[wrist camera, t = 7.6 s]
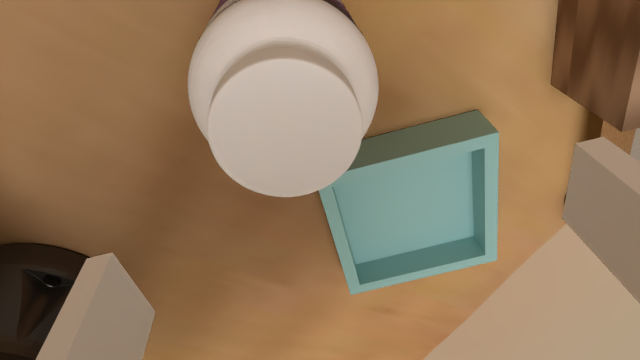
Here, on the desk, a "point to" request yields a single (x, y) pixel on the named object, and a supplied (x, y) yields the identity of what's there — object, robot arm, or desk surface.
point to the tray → (417, 203)
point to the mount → (600, 58)
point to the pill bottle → (283, 92)
